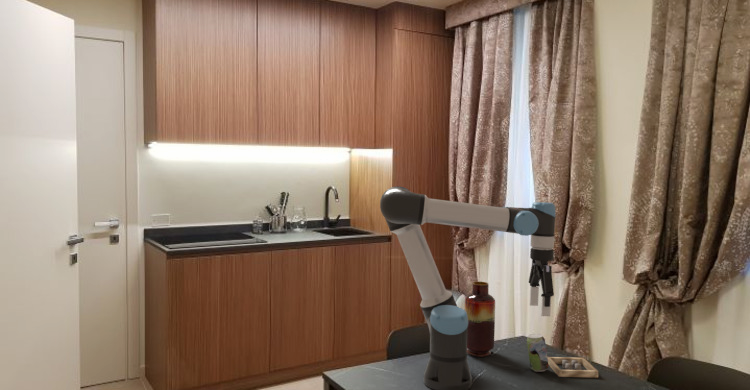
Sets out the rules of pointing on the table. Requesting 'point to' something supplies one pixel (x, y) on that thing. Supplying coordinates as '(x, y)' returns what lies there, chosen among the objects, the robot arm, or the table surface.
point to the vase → (480, 320)
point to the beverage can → (537, 352)
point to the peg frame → (572, 367)
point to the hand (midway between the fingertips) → (539, 310)
